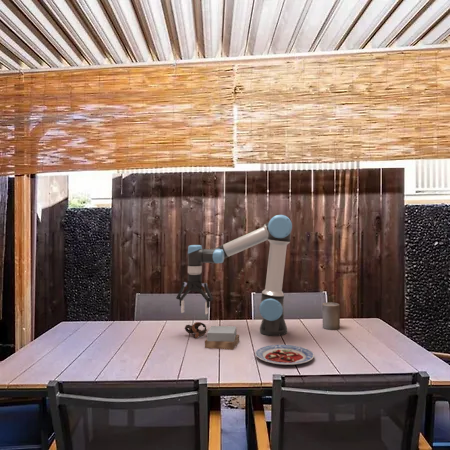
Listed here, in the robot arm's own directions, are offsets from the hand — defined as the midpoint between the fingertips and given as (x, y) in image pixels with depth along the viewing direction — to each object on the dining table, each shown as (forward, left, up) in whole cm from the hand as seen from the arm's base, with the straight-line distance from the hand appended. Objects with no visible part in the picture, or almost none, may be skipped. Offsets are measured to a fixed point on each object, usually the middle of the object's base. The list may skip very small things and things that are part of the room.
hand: (194, 313), depth 208 cm
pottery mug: (0, -1, -13) cm, 13 cm away
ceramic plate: (-50, +24, -13) cm, 57 cm away
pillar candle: (-71, -32, -13) cm, 79 cm away
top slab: (-18, +11, -9) cm, 23 cm away
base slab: (-18, +11, -13) cm, 25 cm away
